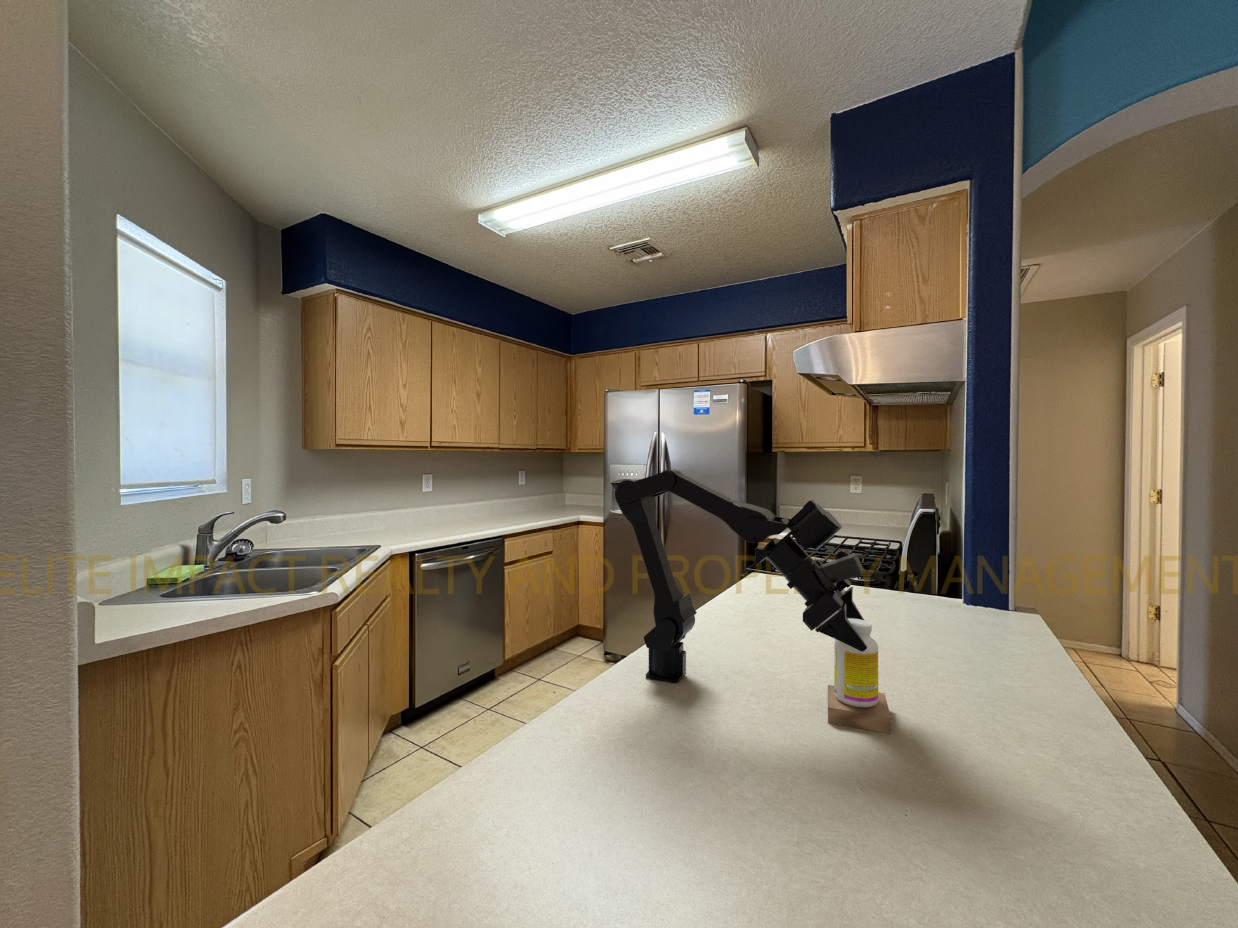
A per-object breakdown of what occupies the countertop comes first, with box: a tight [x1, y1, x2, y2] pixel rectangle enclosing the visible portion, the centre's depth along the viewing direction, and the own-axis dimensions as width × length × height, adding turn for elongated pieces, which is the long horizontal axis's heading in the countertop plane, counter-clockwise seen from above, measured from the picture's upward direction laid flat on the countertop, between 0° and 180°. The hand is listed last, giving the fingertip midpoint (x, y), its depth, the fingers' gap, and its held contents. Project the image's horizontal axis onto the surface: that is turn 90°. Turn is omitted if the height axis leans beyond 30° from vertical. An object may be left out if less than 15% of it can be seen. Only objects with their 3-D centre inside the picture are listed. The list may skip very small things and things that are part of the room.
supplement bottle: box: [833, 618, 879, 708], centre depth 86 cm, size 7×7×13 cm
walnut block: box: [827, 684, 892, 735], centre depth 86 cm, size 9×9×2 cm
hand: (866, 640), depth 86 cm, fingers open, 9 cm apart
